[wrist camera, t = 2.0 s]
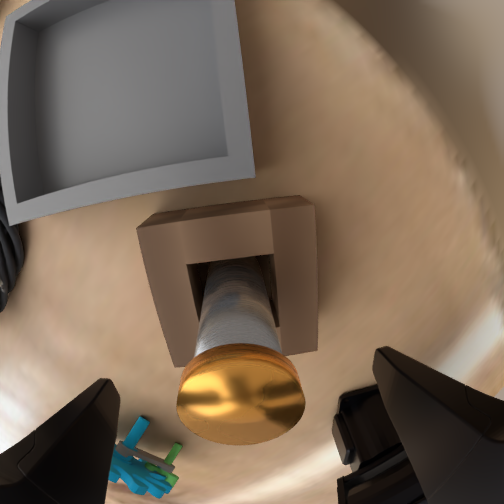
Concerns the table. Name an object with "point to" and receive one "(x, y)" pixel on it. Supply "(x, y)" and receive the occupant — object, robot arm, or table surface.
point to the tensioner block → (229, 247)
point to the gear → (143, 465)
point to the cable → (8, 253)
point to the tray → (119, 101)
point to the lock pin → (238, 363)
